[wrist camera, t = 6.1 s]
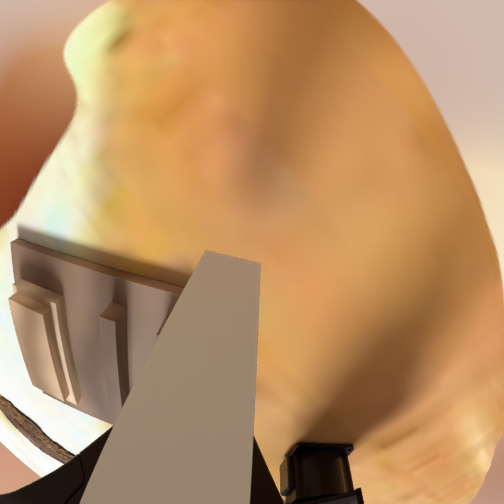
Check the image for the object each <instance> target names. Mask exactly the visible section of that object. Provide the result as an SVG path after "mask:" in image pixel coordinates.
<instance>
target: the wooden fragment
mask: <svg viewBox="0 0 504 504" xmlns="http://www.w3.org/2000/svg"><path fill="white" fill-rule="evenodd" d="M0 410H1V411H2V412H3V413H4V414H5V416H6V417H7V418H8V420H9V421H10V422H11V423H12V424H13V425H14V426H15V427H16V428H17V429H18V430H19V431H20V432H21V433H22V434H23V435H24V436H25V437H26V438H27V439H29V441H30V442H31V443H32V444H34V445H35V446H36V447H38V448H39V449H40V450H42V451H43V452H44V453H46V454H47V455H49V456H51V457H53V458H54V459H56V460H58V461H60V462H61V463H63V464H65V463H66V462H68V461H69V460H71V459H72V458H73V457H74V456H73V455H72V454H70V453H69V452H67V451H65V450H64V449H63V448H62V447H60V446H59V445H58V444H56V443H55V442H53V441H52V440H51V439H50V438H49V437H47V436H46V435H45V434H44V433H43V431H42V430H40V429H39V428H38V427H37V426H36V425H35V424H34V423H33V422H32V421H30V420H28V419H27V418H26V417H25V416H24V415H22V414H21V413H20V412H19V411H18V410H17V409H16V408H15V407H14V406H13V405H12V403H10V402H9V401H8V400H7V399H5V398H4V397H2V396H1V395H0Z"/></svg>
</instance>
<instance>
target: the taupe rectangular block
mask: <svg viewBox="0 0 504 504" xmlns="http://www.w3.org/2000/svg"><path fill="white" fill-rule="evenodd" d="M260 269H261V263H258V262H254V261H249V260H245V259H241V258H237V257H232V256H228V255H224V254H219V253H215V252H211V251H207V250H205V252H204V254H203V256H202V257H201V259H200V261H199V263H198V265H197V266H196V268H195V270H194V272H193V273H192V275H191V277H190V279H189V281H188V282H187V284H186V286H185V288H184V290H183V291H182V293H181V295H180V297H179V299H178V301H177V302H176V304H175V306H174V308H173V310H172V312H171V314H170V315H169V317H168V319H167V321H166V323H165V325H164V327H163V329H162V330H161V332H160V334H159V336H158V338H157V340H156V342H155V344H154V346H153V348H152V350H151V351H150V353H149V355H148V357H147V359H146V361H145V363H144V365H143V367H142V369H141V371H140V373H139V375H138V377H137V379H136V381H135V383H134V385H133V387H132V389H131V391H130V393H129V395H128V397H127V399H126V401H125V403H124V405H123V407H122V410H121V412H120V414H119V416H118V418H117V420H116V422H115V424H114V426H113V429H112V431H111V433H110V435H109V437H108V439H107V441H106V444H105V446H104V448H103V450H102V452H101V455H100V457H99V459H98V461H97V464H96V466H95V468H94V470H93V473H92V475H91V477H90V480H89V482H88V484H87V487H86V489H85V491H84V494H83V496H82V499H81V501H80V504H250V491H251V473H252V454H253V434H254V413H255V392H256V370H257V346H258V322H259V296H260Z"/></svg>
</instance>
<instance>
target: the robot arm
mask: <svg viewBox="0 0 504 504" xmlns="http://www.w3.org/2000/svg"><path fill="white" fill-rule="evenodd" d="M112 429H113V426H112V427H111V428H110V429H109V430H107V431H106V432H105V433H104V434H102V435H101V436H100V437H99V438H97V439H96V440H95V441H94V442H92V443H91V444H90V445H89V446H87V447H86V448H85V449H84V450H82V451H81V452H80V453H79V454H80V455H79V454H77V455H76V456H74V457H73V458H72V459H71V460H69V461H68V462H66V463H65V464H64V465H62V466H61V467H59V468H58V469H56V470H55V471H53V472H51V473H49V474H48V475H46V476H44V477H42V478H40V479H38V480H37V481H34V482H32V483H30V484H29V485H26V486H24V487H22V488H20V489H18V490H16V491H13V492H10V493H6V494H0V504H80V501H81V499H82V496H83V494H84V491H85V489H86V487H87V484H88V482H89V480H90V477H91V475H92V473H93V470H94V468H95V466H96V464H97V461H98V459H99V457H100V455H101V452H102V450H103V448H104V446H105V444H106V441H107V439H108V437H109V435H110V433H111V431H112ZM353 450H354V446H353V445H335V444H309V443H299V444H297V445H296V446H295V447H294V449H293V450H292V452H291V453H290V454H289V455H288V456H287V457H286V458H285V460H284V461H283V463H282V464H281V465H280V493H279V491H278V489H277V487H276V484H275V482H274V480H273V478H272V476H271V474H270V471H269V469H268V467H267V465H266V463H265V460H264V458H263V456H262V453H261V451H260V449H259V447H258V444H257V442H256V440H255V437H254V435H253V454H252V473H251V491H250V504H283V503H284V501H283V499H282V497H281V495H282V496H286V504H364V501H363V496H362V491H361V488H357V489H356V490H354V487H353V481H352V476H351V471H350V466H349V461H348V455H349V454H350V453H351V452H352V451H353ZM280 494H281V495H280Z"/></svg>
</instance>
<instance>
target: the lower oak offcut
mask: <svg viewBox="0 0 504 504" xmlns="http://www.w3.org/2000/svg"><path fill="white" fill-rule="evenodd" d="M13 291H14V294H15V293H16V292H19V293H21V294H23V295H25V296H27V297H29V298H31V299H34V300H36V301H38V302H40V303H43V304H45V305H47V306H50V307H51V308H52V315H53V321H54V327H55V333H56V338H57V343H58V348H59V353H60V358H61V362H62V366H63V370H64V374H65V378H66V382H67V386H68V389H69V393H70V394H69V396H68V397H67V399H66V400H67V401H69V402H72V403H74V404H76V405H77V404H78V402H79V401H80V399H81V397H82V396H81V392H80V388H79V384H78V380H77V376H76V371H75V366H74V361H73V356H72V351H71V345H70V339H69V333H68V326H67V318H66V310H65V301H64V296H62V295H59V294H57V293H54V292H52V291H49V290H47V289H44V288H42V287H40V286H37V285H35V284H32V283H30V282H28V281H25V280H23V279H20V280H18V281H17V282H16V283H14V284H13Z"/></svg>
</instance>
